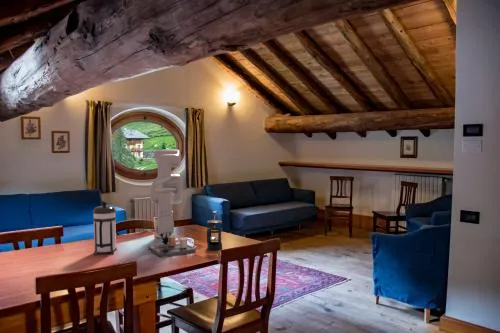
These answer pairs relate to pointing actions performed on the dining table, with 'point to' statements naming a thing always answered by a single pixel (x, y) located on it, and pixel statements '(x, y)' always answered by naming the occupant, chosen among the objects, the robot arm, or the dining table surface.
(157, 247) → the console
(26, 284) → the dining table surface
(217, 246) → the french press
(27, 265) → the dining table surface
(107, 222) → the coffee press
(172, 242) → the fader terracotta
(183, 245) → the fader ivory
